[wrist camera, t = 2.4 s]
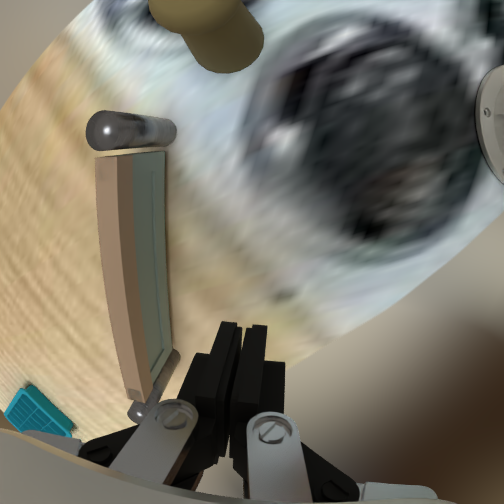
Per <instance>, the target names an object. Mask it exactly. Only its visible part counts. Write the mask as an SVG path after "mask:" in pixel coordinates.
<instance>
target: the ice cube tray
mask: <svg viewBox="0 0 504 504" xmlns="http://www.w3.org/2000/svg"><path fill="white" fill-rule="evenodd" d="M4 415H5V417H6V418H7V419H8V420H9V422H11V423H12V425H13V426H14V427H16V428H17V429H18V430H19V431H20V432H21V433H22V432H23V431H26V430H36V431H41V432H45V433H50V434H54V435H59V436H64V437H70V438H72V434H71V433H70V430H71V428H72V427H73V423H72V421H71V420H69V419H68V418H67V417H66V416H65V415H64V414H63V413H62V412H61V411H59V410H58V409H57V408H56V407H55V406H54V405H53V404H52V403H51V402H50V401H49V400H48V399H47V398H46V397H45V396H44V395H43V394H42V393H41V392H40V391H39V390H38V389H37V388H36V387H35V386H33V385H30V386H29V387H28V388H27V389H26V390H25V389H23V388H20V389H19V391H18V392H17V394H16V395H15V397H14V398H13V400H12V402H11V403H10V405H9V406H8V408H7V409H6V411H5V413H4Z"/></svg>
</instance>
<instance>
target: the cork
mask: <svg viewBox="0 0 504 504" xmlns="http://www.w3.org/2000/svg"><path fill="white" fill-rule="evenodd" d="M148 3H149V9H150V12H151V14H152V16H153V17H154V18H155V20H156V21H157V23H158V24H160V25H161V26H163V27H164V28H166V29H167V30H169V31H170V32H174V33H178V34H181V36H182V37H183V39H184V41H185V42H186V44H187V46H188V47H189V49H190V51H191V52H192V54H193V56H194V57H195V59H196V60H197V62H198V63H199V64H200V65H201V66H203V67H204V68H205V69H207V70H209V71H212V72H215V73H233V72H237V71H241V70H242V69H244V68H246V67H248V66H249V65H251V64H252V63H253V62H254V61H255V60H256V59H257V58H258V57H259V55H260V53H261V51H262V48H263V44H264V35H263V31H262V28H261V26H260V25H259V24H258V22H257V21H256V20H255V18H254V17H253V16H252V15H251V13H250V12H249V11H248V9H247V8H246V7H245V6H244V4H243V3H242V2H241V0H148Z"/></svg>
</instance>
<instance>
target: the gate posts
mask: <svg viewBox="0 0 504 504" xmlns="http://www.w3.org/2000/svg"><path fill="white" fill-rule="evenodd" d="M176 133H177V130H176V126H175V124H174V123H173V122H172V121H171V120H169V119H164V118H158V117H152V116H145V115H138V114H131V113H123V112H115V111H106V110H102V111H99V112H97V113H95V114H94V115H93V116H92V117H91V118H90V120H89V121H88V124H87V127H86V139H87V142H88V144H89V145H90V146H91V147H92V148H93V149H94V150H97V151H107V150H118V149H130V148H144V147H161V146H167V145H169V144H171V143H172V142H173V141H174V139H175V137H176ZM179 360H180V354H179V353H178V352H177V351H176V350H175V349H172V351H171V353H170V355H169V356H168V358H167V360H166V362H165V364H164V365H163V367H162V369H161V371H160V373H159V374H158V376H157V378H156V380H155V382H154V383H153V390H152V391H151V393H150V395H149V397H148V399H147V401H146V403H142V402H138V401H134V402H133V403H132V405H131V407H130V409H129V410H128V412H127V415H128V417H129V418H130V419H131V420H132V421H133V422H135V423H137V424H141V423H142V421H143V420H144V419H145V417H146V416H147V415H148V413H149V412H150V410H151V409H152V408H153V407H154V406H155V405H156V404H157V403H158V402H159V400H160V398H161V396H162V394H163V392H164V390H165V388H166V386H167V384H168V382H169V380H170V378H171V376H172V374H173V372H174V370H175V368H176V366H177V364H178V362H179Z"/></svg>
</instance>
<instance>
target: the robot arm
mask: <svg viewBox="0 0 504 504" xmlns="http://www.w3.org/2000/svg"><path fill="white" fill-rule="evenodd" d="M475 116H476V128H477V133H478V138H479V142H480V145H481V148H482V151H483V154H484V156H485V158H486V161H487V163H488V165H489V166H490V168H491V170H492V171H493V173H494V174H495V176H496V177H497V178H498V179H499V180H500V181H501V182H502V183H503V184H504V65H502V66H499V67H496V68H494V69H492V70H491V71H490V72H489V73H487V75H486V76H485V78H484V79H483V80H482V82H481V85H480V87H479V90H478V94H477V99H476V111H475ZM267 327H268V326H265V325H254V324H253V326H252V328H246V332H245V337H244V341H243V346H242V327H237V323H234V322H225V321H222V322H221V324H220V327H219V330H218V333H217V335H216V338H215V341H214V344H213V346H212V349H211V352H210V354H204V353H196V354H195V356H194V358H193V361H192V363H191V365H190V368H189V370H188V372H187V375H186V377H185V380H184V382H183V384H182V387H181V389H180V391H179V394H178V396H177V399H168V400H164V401H161V402H159V403H157V404H156V405H155V406H154V407H153V408H152V409H151V410H150V412H149V413H148V415H147V416H146V417H145V419H144V420H143V421H142V423H141V424H138V425H135V426H132V427H130V428H127V429H124V430H121V431H118V432H115V433H112V434H109V435H105V436H102V437H99V438H96V439H93V440H90V441H88V442H86V443H82V442H81V440H80V439H75V438H70V437H64V436H59V435H54V434H50V433H45V432H41V431H36V430H26V431H23V432H22V433H18V432H15V431H11V430H7V429H1V428H0V504H456V503H453V502H448V501H444V500H438V498H437V495H436V494H435V492H434V491H433V490H431V489H430V488H428V487H424V486H412V485H395V484H383V483H373V482H366V483H365V484H357V483H356V482H355V481H354V480H353V479H351V478H350V477H349V476H347V475H346V474H344V473H343V472H341V471H340V470H338V469H337V468H336V467H334V466H333V465H332V464H330V463H329V462H327V461H326V460H325V459H323V458H322V457H321V456H319V455H318V454H316V453H315V452H314V451H313V450H311V449H310V448H309V447H307V446H306V445H305V444H303V443H302V442H301V441H300V437H299V432H298V428H297V426H296V423H295V422H294V421H293V420H292V419H291V418H290V417H288V416H286V415H284V392H285V391H284V390H285V362H276V361H265V360H264V359H265V348H266V338H267ZM241 346H242V350H241ZM229 435H230V450H229V451H230V452H229V457H230V458H233V469H234V470H235V471H236V472H237V473H238V474H239V475H240V476H241V477H242V478H243V499H240V498H232V497H225V496H218V495H212V494H206V493H201V492H195V491H196V489H197V487H198V485H199V483H200V481H201V478H202V476H203V472H204V470H205V469H207V468H209V467H211V466H213V464H217V463H218V458H219V456H220V457H225V454H226V449H227V445H228V440H229Z"/></svg>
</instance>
